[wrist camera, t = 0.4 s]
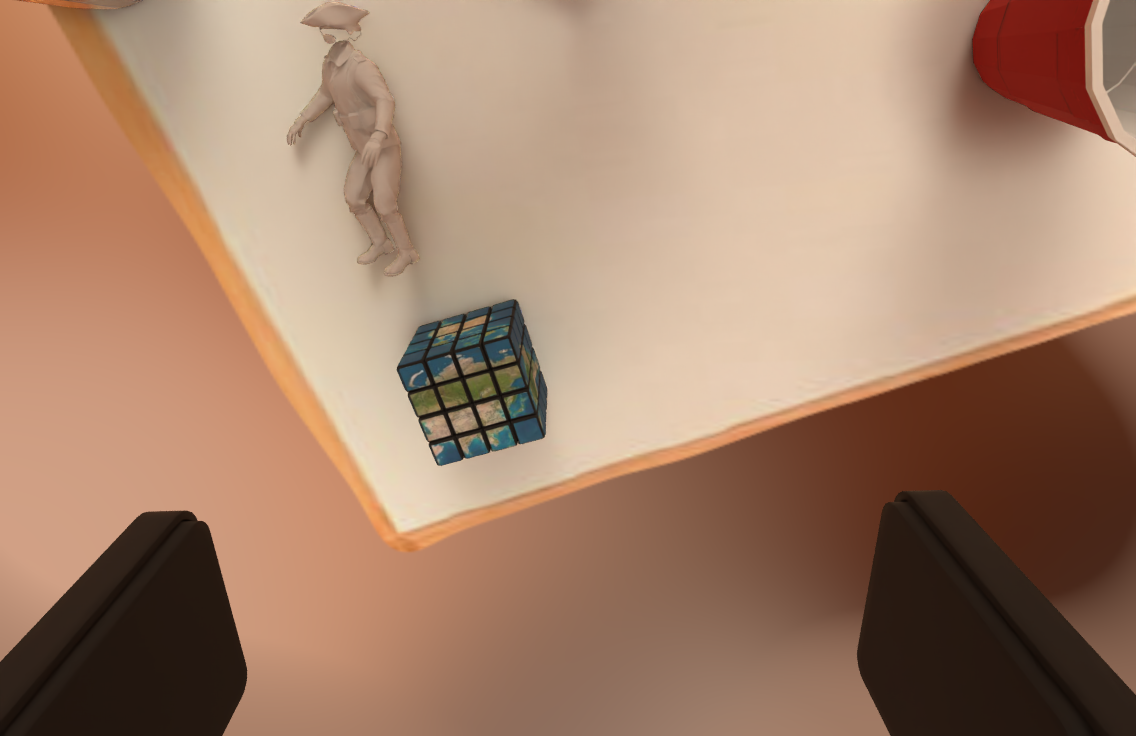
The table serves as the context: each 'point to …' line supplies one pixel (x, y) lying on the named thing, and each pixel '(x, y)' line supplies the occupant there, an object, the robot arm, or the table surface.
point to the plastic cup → (1064, 61)
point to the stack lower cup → (88, 3)
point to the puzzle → (475, 383)
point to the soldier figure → (361, 133)
